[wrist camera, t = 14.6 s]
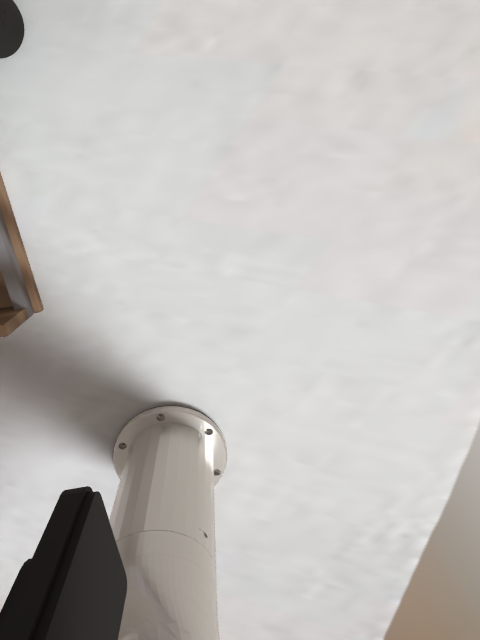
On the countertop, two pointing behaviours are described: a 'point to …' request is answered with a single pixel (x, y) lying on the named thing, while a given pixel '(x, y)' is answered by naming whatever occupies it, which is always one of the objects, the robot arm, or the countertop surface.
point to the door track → (14, 273)
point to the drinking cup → (10, 28)
